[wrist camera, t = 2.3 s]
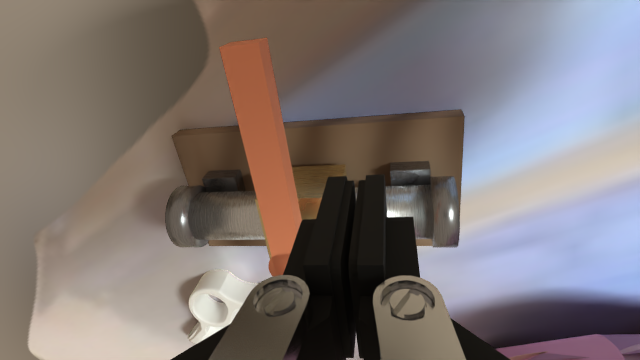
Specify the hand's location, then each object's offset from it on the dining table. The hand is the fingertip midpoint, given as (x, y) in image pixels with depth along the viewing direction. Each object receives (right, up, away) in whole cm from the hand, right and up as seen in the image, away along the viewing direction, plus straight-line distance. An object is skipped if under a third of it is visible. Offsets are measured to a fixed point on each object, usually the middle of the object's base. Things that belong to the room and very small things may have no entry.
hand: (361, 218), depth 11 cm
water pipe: (-2, 0, +22) cm, 22 cm away
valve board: (-1, +1, +23) cm, 23 cm away
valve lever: (-4, +2, +11) cm, 12 cm away
